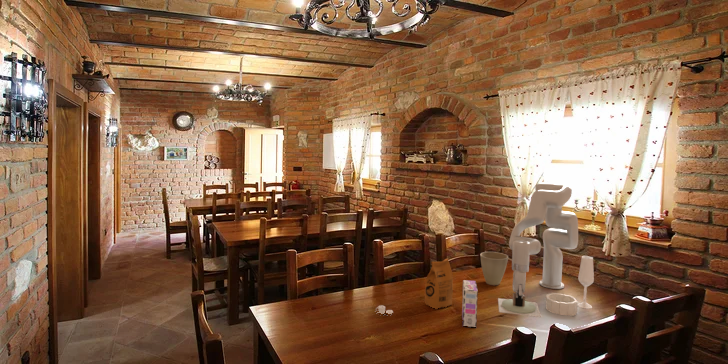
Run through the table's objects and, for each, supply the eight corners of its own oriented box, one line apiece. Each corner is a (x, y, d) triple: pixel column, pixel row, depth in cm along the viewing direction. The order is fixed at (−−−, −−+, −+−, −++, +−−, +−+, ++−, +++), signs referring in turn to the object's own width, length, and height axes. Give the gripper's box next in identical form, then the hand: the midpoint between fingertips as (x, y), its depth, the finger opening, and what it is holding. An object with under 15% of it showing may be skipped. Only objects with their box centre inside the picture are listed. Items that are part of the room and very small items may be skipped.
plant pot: (475, 284, 235) (476, 256, 233) (484, 277, 247) (485, 250, 246) (502, 289, 226) (503, 260, 225) (510, 282, 239) (511, 254, 237)
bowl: (544, 304, 207) (544, 292, 206) (573, 307, 203) (574, 295, 203) (547, 314, 194) (548, 301, 194) (578, 317, 191) (579, 305, 190)
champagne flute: (594, 309, 201) (597, 259, 199) (578, 307, 203) (581, 258, 200) (589, 303, 208) (592, 255, 205) (574, 302, 209) (577, 255, 207)
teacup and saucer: (394, 313, 195) (394, 304, 194) (389, 320, 187) (389, 311, 187) (376, 310, 198) (376, 302, 197) (370, 317, 190) (370, 308, 190)
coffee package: (421, 303, 206) (422, 259, 204) (441, 299, 212) (442, 256, 210) (434, 310, 197) (436, 264, 195) (454, 305, 204) (456, 261, 201)
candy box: (476, 328, 179) (478, 290, 177) (462, 327, 180) (463, 289, 178) (474, 315, 192) (476, 280, 191) (461, 314, 193) (462, 279, 192)
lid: (501, 299, 210) (501, 287, 210) (533, 303, 206) (534, 291, 206) (502, 311, 196) (502, 298, 195) (537, 315, 192) (537, 302, 191)
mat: (498, 299, 212) (498, 298, 212) (536, 303, 207) (536, 302, 207) (499, 313, 195) (499, 312, 195) (541, 318, 190) (541, 316, 190)
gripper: (510, 261, 208) (509, 297, 210) (512, 271, 192) (511, 310, 194) (527, 262, 206) (525, 299, 208) (530, 272, 190) (528, 312, 192)
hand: (518, 304), depth 201 cm, fingers closed on lid, 3 cm apart
